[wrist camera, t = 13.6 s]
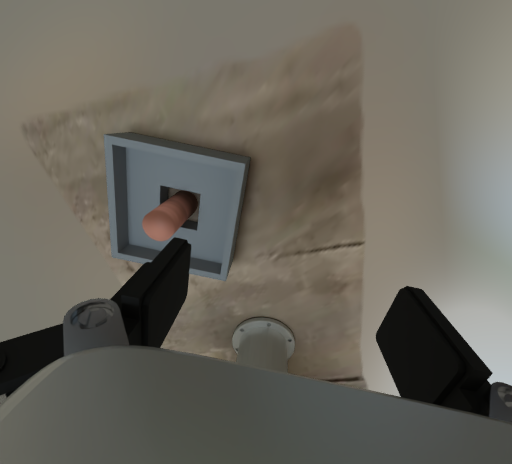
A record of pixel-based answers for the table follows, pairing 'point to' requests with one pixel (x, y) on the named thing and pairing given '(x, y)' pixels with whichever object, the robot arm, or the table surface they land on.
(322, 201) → the table surface
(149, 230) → the peg
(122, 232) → the tray
